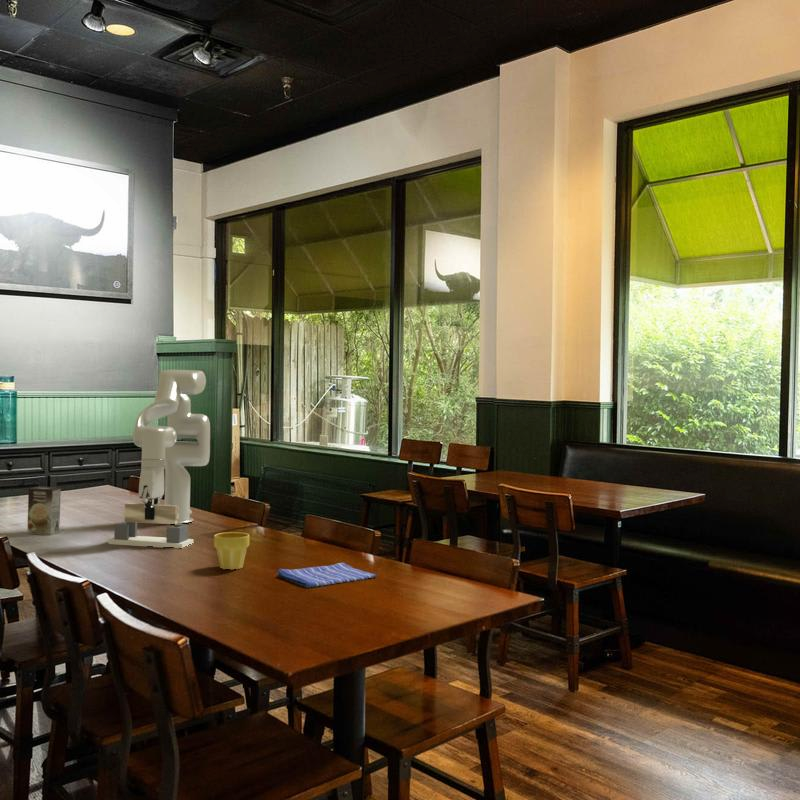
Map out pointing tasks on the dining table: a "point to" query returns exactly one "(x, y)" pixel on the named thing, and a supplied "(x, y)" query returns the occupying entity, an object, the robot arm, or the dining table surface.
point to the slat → (161, 516)
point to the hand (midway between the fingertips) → (151, 518)
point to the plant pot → (231, 549)
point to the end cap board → (128, 536)
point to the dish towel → (324, 575)
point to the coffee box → (43, 510)
